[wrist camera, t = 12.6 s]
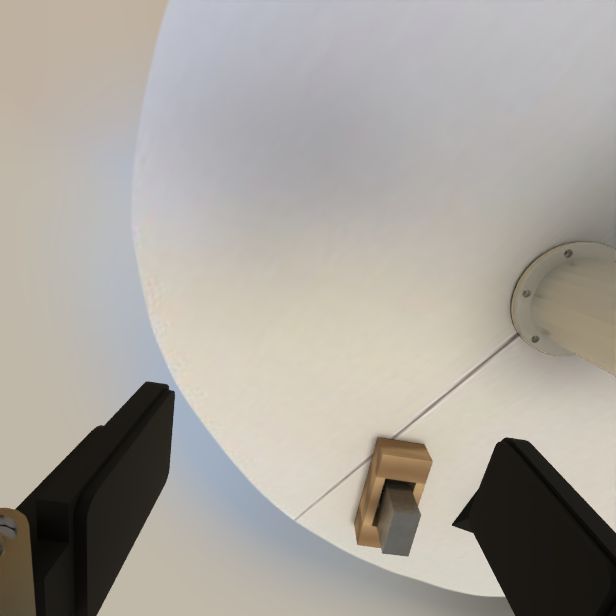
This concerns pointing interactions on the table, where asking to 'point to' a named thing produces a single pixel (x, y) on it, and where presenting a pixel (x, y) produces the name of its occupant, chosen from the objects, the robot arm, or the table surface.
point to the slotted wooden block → (392, 465)
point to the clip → (397, 518)
